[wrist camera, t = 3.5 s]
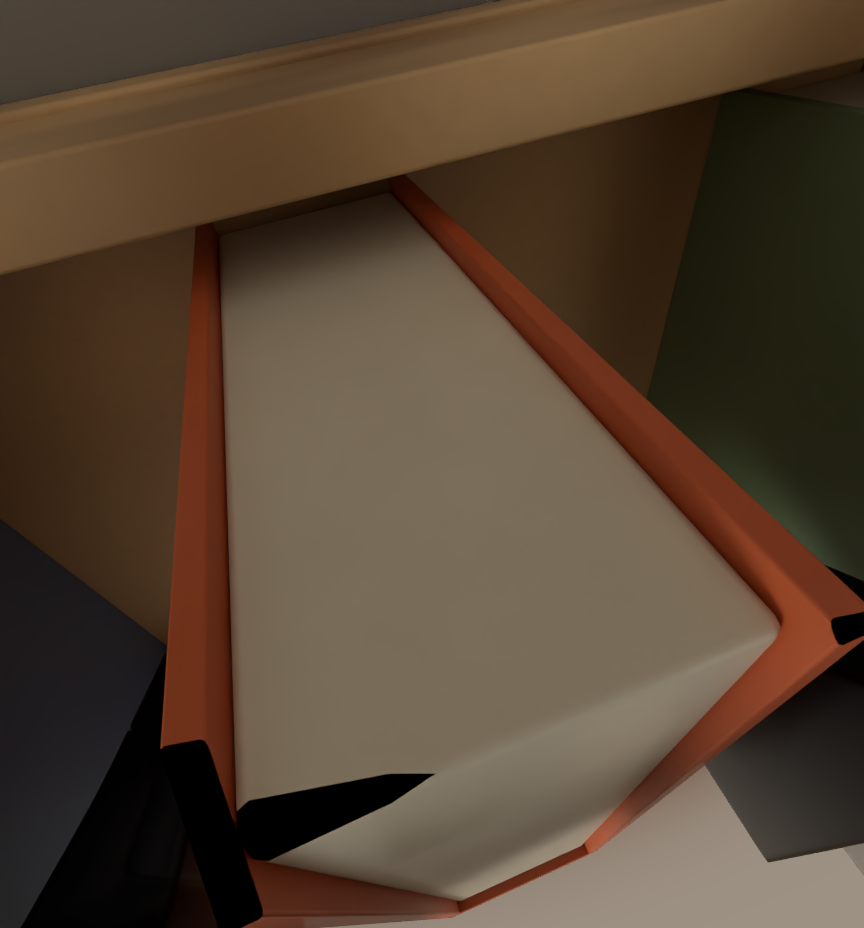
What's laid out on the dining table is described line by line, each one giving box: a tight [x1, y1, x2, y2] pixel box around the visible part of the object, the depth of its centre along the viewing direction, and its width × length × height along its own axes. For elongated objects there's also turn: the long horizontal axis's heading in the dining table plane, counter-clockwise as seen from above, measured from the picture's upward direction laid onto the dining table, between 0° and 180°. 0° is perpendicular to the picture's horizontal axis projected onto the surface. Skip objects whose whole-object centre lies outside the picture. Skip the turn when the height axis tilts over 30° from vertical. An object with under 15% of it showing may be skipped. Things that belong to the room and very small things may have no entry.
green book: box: [647, 63, 864, 581], centre depth 9 cm, size 3×10×8 cm, turn 8°
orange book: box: [160, 174, 864, 928], centre depth 8 cm, size 3×10×8 cm, turn 8°
